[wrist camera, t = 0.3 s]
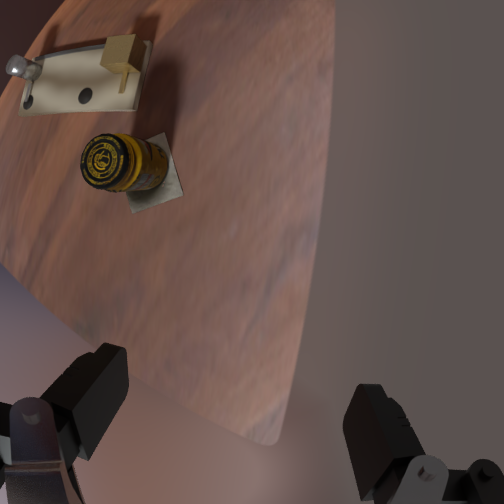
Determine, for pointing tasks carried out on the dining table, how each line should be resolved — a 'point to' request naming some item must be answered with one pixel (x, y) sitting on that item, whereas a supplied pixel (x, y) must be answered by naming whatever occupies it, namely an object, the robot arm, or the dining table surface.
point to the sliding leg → (123, 56)
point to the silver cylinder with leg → (24, 70)
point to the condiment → (132, 168)
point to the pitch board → (81, 84)
